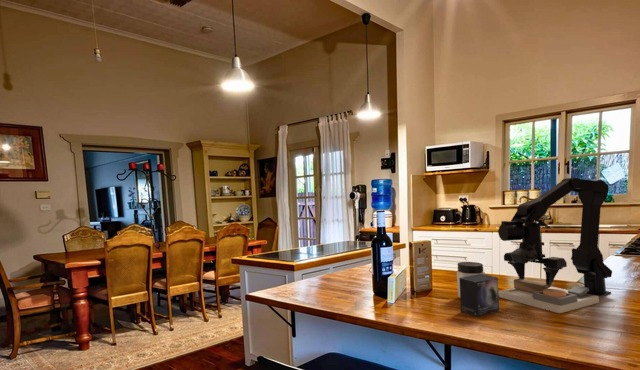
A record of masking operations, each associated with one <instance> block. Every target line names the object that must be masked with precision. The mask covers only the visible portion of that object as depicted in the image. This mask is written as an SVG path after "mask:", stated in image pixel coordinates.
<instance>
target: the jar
mask: <svg viewBox="0 0 640 370" xmlns="http://www.w3.org/2000/svg"><path fill="white" fill-rule="evenodd" d="M477 274H485V275H486V273H485V271H484V265H483V263H480V262H478V261H476V262H475V261H461V262H457V270H456V281H457V282H456V283H457V295H458V296H457V297H458V298H459V299H460V280H459V278H461V277H466V276H472V275H477Z"/></svg>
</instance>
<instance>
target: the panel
mask: <svg viewBox="0 0 640 370" xmlns="http://www.w3.org/2000/svg"><path fill="white" fill-rule="evenodd" d="M548 289H557V290H562V291H565V292H566V296H565V297H561V298H557V297H553V296H548V295H544V294H543V291H538V292H534V293H532V292H528V291H524V290H519V289H515V288H514V287H512V288H508V289H503V290H498V291H499V298H502V299H504V300H509V301H512V302H517V303H520V304H524V305H528V306H530V307H535V308H538V309H542V310H545V309H546V310H547V311H549V310H550V311H549V312H553V313H557V314H562V313H566V312H569V311H574V310H577V309H581V308H585V307H589V306H591V305H595V304H599V303H600V300H599V299H600V298H599V295H594V294H589V293H585V294H583V295H582V296H577V295H575V294H570V293H568V290H569V289H564V288H560V287H555V286H551V287H550V288H548ZM546 310H545V311H546Z"/></svg>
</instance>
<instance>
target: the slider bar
mask: <svg viewBox="0 0 640 370" xmlns="http://www.w3.org/2000/svg"><path fill="white" fill-rule="evenodd" d="M513 288H515V289H519V290H524V291H528V292H532V293H534V292H538V291H543V290H544V289H548V284H546V283H542V282H537V281H533V280H528V279H524V280H523V279H519V278H516V279H513Z"/></svg>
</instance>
